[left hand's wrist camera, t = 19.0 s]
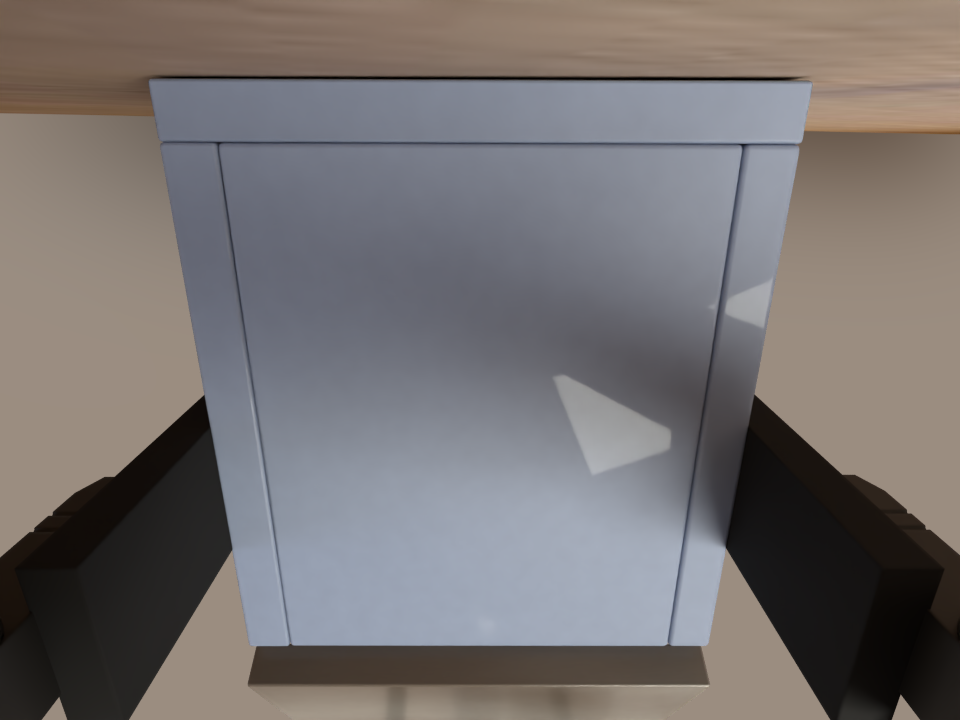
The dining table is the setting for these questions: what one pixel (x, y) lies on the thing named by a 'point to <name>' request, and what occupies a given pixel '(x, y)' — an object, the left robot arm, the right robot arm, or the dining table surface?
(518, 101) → the chest
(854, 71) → the dining table surface
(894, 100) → the dining table surface
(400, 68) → the dining table surface
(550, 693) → the lid
